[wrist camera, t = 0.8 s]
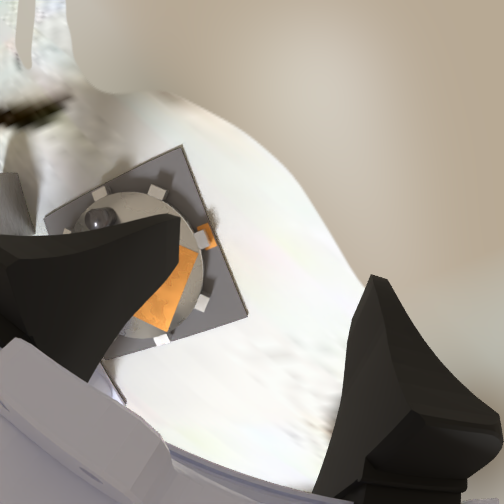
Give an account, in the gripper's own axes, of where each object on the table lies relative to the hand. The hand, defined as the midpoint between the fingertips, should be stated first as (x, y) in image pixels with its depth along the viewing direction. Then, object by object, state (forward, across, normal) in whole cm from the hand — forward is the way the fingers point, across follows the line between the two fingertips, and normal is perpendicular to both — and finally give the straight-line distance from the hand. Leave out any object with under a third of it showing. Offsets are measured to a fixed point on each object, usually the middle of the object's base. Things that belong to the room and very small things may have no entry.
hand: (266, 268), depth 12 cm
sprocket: (+13, +16, +13) cm, 24 cm away
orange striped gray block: (+10, +33, +10) cm, 36 cm away
